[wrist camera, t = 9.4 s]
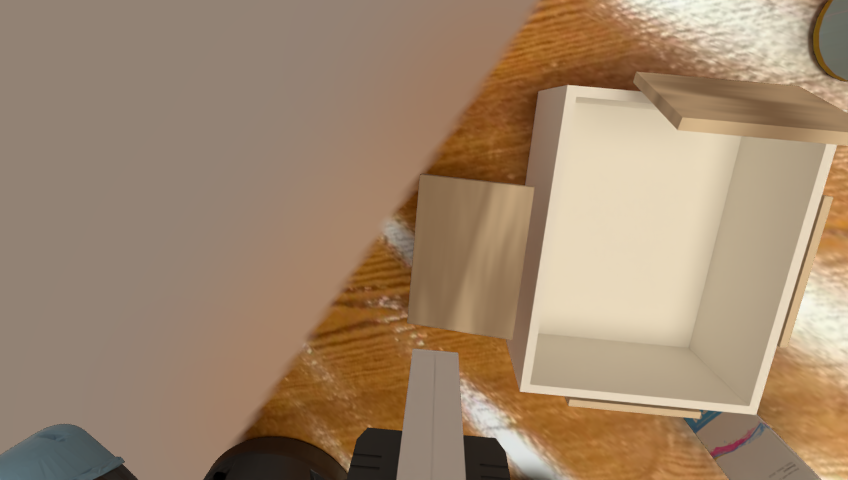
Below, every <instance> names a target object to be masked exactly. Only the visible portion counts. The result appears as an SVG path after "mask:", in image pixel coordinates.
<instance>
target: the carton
mask: <svg viewBox="0 0 848 480" xmlns="http://www.w3.org/2000/svg"><path fill="white" fill-rule="evenodd" d="M843 111H845V112H846V113H847V110H843ZM836 146H837V145H834V144H823V143H812V142H801V141H790V140H779V139H768V138H757V137H746V136H735V135H724V134H713V133H702V132H691V131H681V130H677V129H676V128H675V127H674V126H673V125H672V124H671V123H670V122H669V121H668V119H667V118H666V117H665V116H664V115H663V114H662V113H661V112H660V111H659V110H658V109H657V108H656V107H655V106H654V104H653V103H652V102H651V101H650V100H649V99H648V98H647V97H646V96H645V95H644V94H643V93H642V92H640V91H629V90H618V89H607V88H596V87H585V86H574V85H565V86H560V87H556V88H551V89H546V90H542V91H538V97H537V105H536V112H535V119H534V126H533V133H532V140H531V147H530V154H529V161H528V168H527V175H526V182H525V185H527V186H534V195H533V201H532V208H531V215H530V222H529V229H528V235H527V242H526V249H525V256H524V263H523V269H522V276H521V283H520V290H519V297H518V303H517V310H516V317H515V324H514V331H513V337H512V340H509V339H506V343H507V346H508V350H509V354H510V357H511V361H512V365H513V368H514V372H515V375H516V379H517V383H518V386H519V390H520V392H530V393H540V394H550V395H560V396H565V399H566V401H567V403H568V406H575V407H585V408H595V409H605V410H615V411H625V412H635V413H646V414H656V415H666V416H676V417H686V418H696V419H700V416H701V411H700V410H699V409H701V410H712V411H722V412H732V413H742V414H752V415H756V413H757V410H758V407H759V403H760V400H761V397H762V393H763V390H764V387H765V383H766V380H767V377H768V373H769V370H770V367H771V363H772V360H773V357H774V353H775V350H776V347H777V346H779V347H785V348H787V347H788V343H789V340H790V337H791V334H792V330H793V327H794V324H795V321H796V317H797V314H798V311H799V308H800V304H801V301H802V298H803V294H804V291H805V288H806V285H807V281H808V278H809V275H810V272H811V268H812V265H813V262H814V259H815V255H816V252H817V249H818V245H819V242H820V239H821V236H822V232H823V229H824V226H825V223H826V219H827V216H828V213H829V209H830V206H831V203H832V200H833V197H831V196H826V195H822V193H823V190H824V186H825V183H826V180H827V176H828V173H829V170H830V166H831V163H832V160H833V156H834V153H835V150H836Z"/></svg>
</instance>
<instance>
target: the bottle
mask: <svg viewBox="0 0 848 480" xmlns="http://www.w3.org/2000/svg"><path fill="white" fill-rule="evenodd" d="M813 49H814V53H815V56H816V58H817V61H818V63H819V65H820V66H821V67H822V68H823V69H824V70H825V71H826V73H827V74H829V75H830V76H832V77H834V78H836V79H838V80H841V81H847V82H848V0H828V1H827V3H826V4H825V6H824V7H823V9H822V11H821V12H820V14H819V16H818V18H817V21H816V25H815V28H814V33H813Z"/></svg>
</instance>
